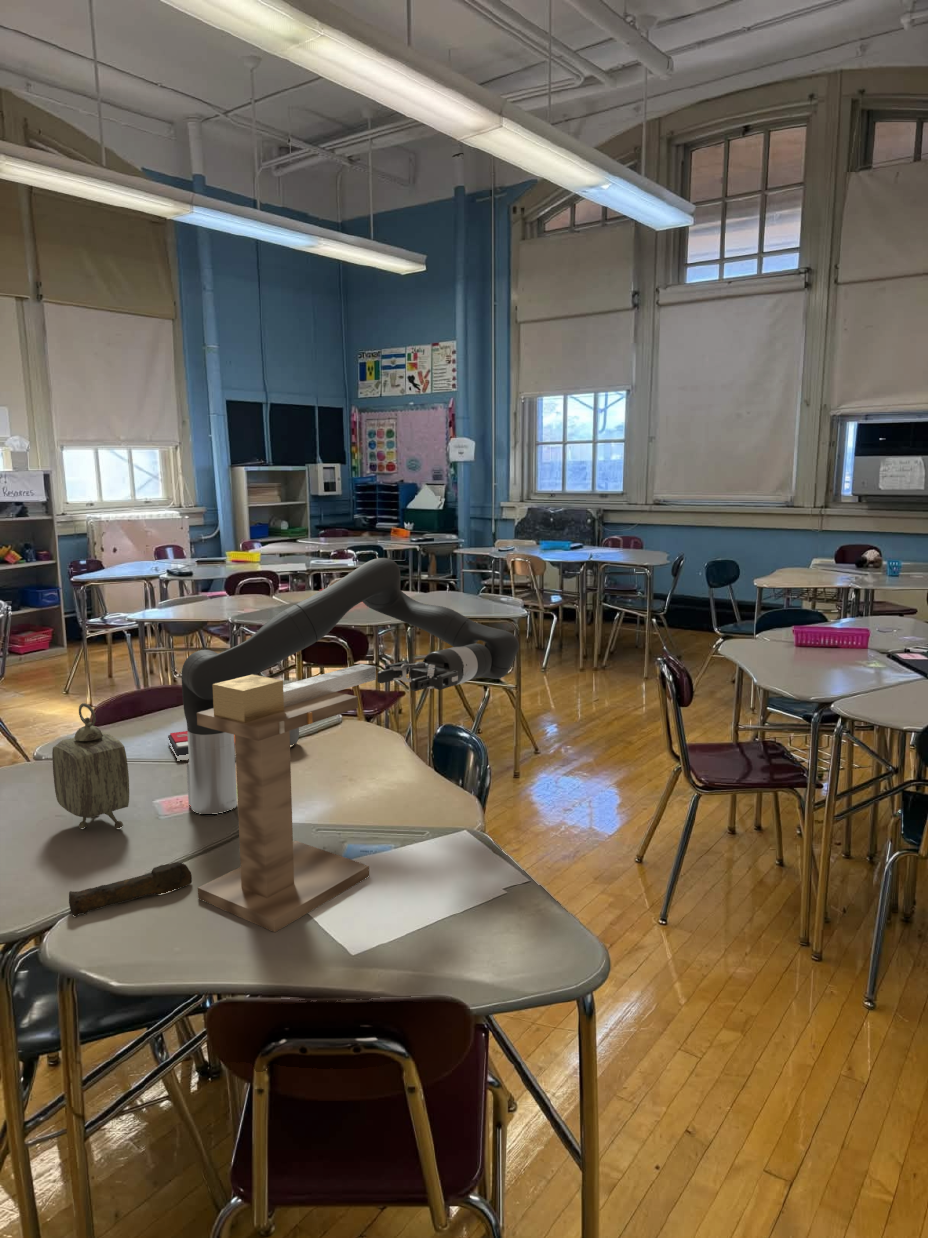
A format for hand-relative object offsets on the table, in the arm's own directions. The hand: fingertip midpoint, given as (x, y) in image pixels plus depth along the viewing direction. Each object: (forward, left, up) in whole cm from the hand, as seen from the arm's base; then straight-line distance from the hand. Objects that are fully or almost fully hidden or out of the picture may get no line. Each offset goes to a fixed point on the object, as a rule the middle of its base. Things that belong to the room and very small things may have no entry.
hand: (395, 681), depth 154 cm
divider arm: (-4, -19, +1) cm, 20 cm away
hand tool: (-22, -42, -32) cm, 57 cm away
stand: (-4, -25, -31) cm, 40 cm away
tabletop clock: (-54, -29, -32) cm, 69 cm away
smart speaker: (-61, +28, -32) cm, 74 cm away
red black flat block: (-76, +13, -32) cm, 84 cm away
